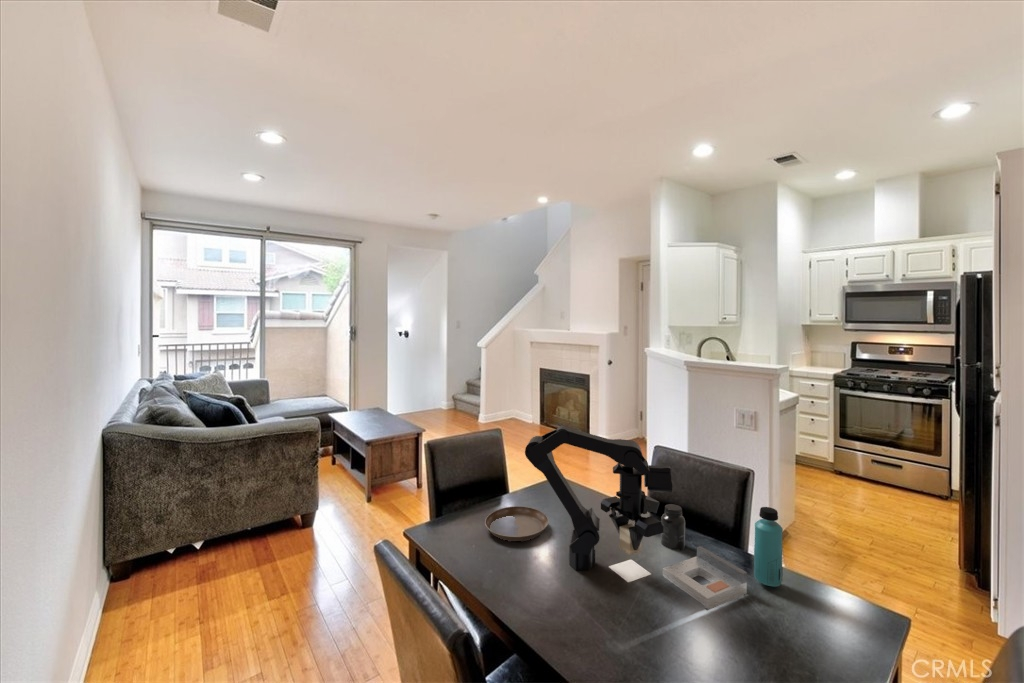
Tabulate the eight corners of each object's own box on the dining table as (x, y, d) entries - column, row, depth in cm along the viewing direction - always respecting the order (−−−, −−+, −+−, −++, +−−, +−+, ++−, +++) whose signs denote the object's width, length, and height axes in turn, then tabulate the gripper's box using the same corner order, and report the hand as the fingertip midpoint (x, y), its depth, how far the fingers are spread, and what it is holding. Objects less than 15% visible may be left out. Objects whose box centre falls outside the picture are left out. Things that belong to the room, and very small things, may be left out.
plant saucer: (503, 552, 131) (503, 541, 130) (474, 524, 149) (474, 514, 148) (560, 535, 141) (560, 525, 140) (527, 510, 159) (527, 501, 158)
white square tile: (628, 585, 114) (628, 582, 114) (608, 569, 121) (608, 566, 121) (651, 577, 118) (651, 574, 118) (631, 562, 125) (631, 559, 125)
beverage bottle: (782, 596, 109) (784, 517, 108) (751, 587, 113) (753, 511, 112) (782, 582, 115) (784, 507, 114) (753, 574, 118) (755, 501, 117)
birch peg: (629, 555, 116) (629, 533, 116) (619, 548, 120) (619, 526, 120) (641, 551, 118) (641, 529, 118) (630, 544, 122) (631, 523, 121)
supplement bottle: (686, 553, 129) (687, 513, 128) (662, 550, 130) (662, 511, 130) (682, 541, 136) (683, 503, 135) (659, 539, 137) (659, 501, 136)
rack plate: (707, 610, 104) (707, 588, 104) (662, 578, 117) (663, 558, 116) (746, 593, 110) (747, 572, 110) (700, 565, 123) (700, 546, 123)
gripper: (679, 496, 113) (679, 555, 114) (630, 473, 130) (629, 524, 131) (646, 505, 108) (646, 566, 109) (599, 479, 125) (599, 533, 126)
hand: (630, 546), depth 119 cm, fingers closed on birch peg, 4 cm apart
